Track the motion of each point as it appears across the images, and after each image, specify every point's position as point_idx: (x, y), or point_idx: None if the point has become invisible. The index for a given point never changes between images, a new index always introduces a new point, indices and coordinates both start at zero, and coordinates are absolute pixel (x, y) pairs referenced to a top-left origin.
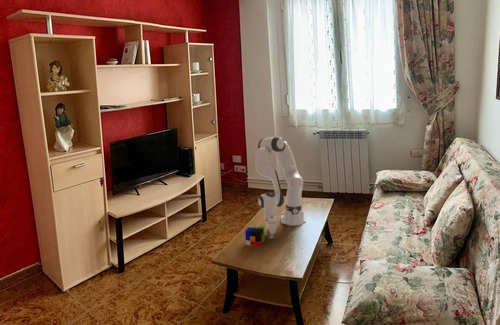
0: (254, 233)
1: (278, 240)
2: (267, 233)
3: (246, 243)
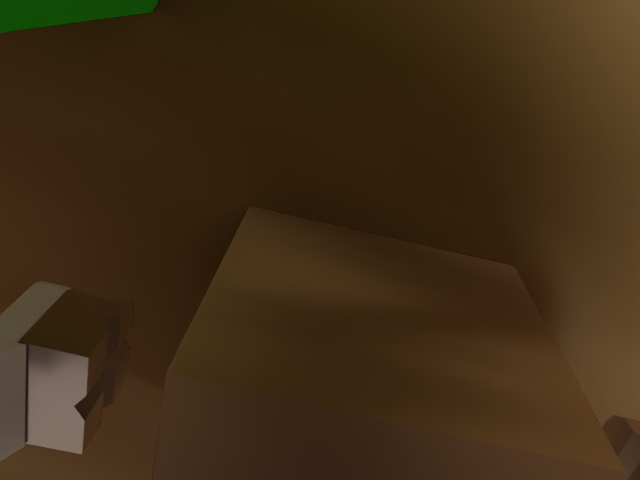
0: None
1: None
2: (431, 327)
3: None
